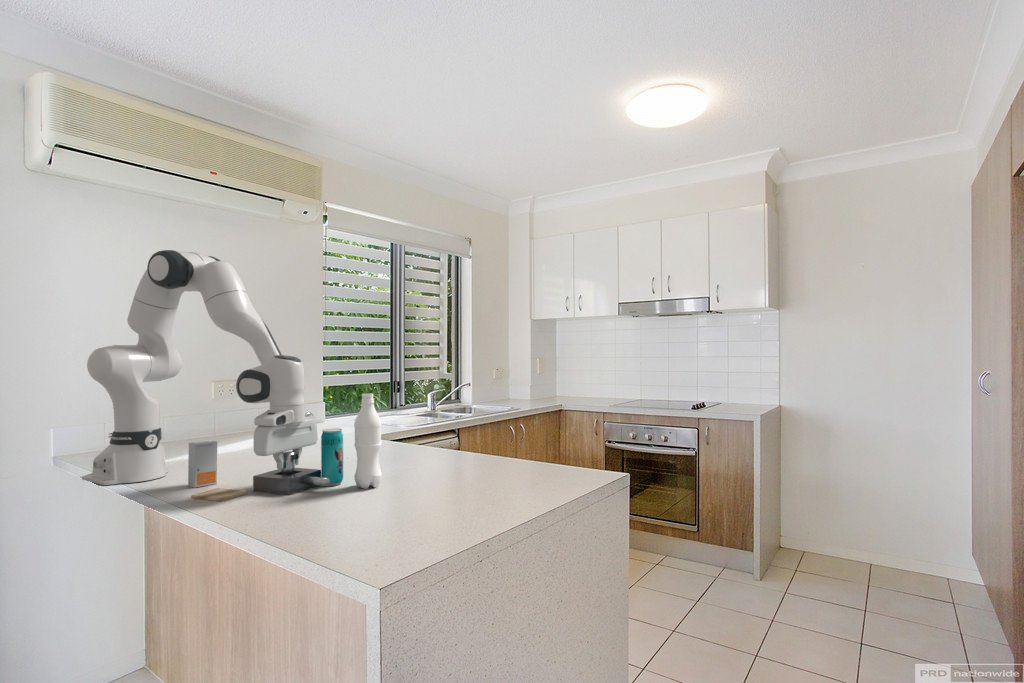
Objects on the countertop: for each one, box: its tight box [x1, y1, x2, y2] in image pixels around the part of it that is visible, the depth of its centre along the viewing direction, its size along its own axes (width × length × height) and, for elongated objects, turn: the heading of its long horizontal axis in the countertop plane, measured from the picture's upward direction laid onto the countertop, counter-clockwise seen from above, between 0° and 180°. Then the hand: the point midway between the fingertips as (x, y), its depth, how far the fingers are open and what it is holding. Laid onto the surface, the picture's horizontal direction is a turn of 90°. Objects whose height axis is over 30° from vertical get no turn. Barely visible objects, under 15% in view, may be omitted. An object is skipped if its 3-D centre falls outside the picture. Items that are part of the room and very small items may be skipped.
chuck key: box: [281, 450, 300, 476], centre depth 149 cm, size 6×3×8 cm, turn 69°
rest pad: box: [190, 487, 248, 502], centre depth 142 cm, size 10×8×1 cm
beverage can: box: [320, 427, 344, 487], centre depth 152 cm, size 6×6×15 cm
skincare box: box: [187, 439, 218, 489], centre depth 153 cm, size 6×4×12 cm
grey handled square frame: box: [252, 467, 330, 496], centre depth 148 cm, size 19×12×4 cm, turn 69°
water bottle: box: [353, 393, 383, 490], centre depth 150 cm, size 7×7×25 cm
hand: (287, 466), depth 149 cm, fingers closed on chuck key, 3 cm apart
